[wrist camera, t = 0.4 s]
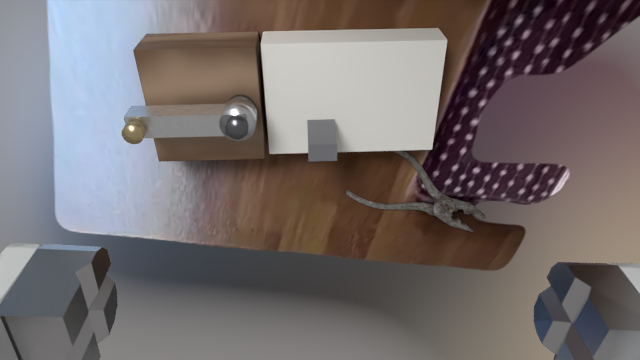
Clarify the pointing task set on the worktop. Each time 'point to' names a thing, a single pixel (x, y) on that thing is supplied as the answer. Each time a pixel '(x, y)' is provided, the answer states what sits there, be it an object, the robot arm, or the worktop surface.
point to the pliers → (438, 209)
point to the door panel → (352, 90)
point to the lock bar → (191, 121)
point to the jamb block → (203, 87)
